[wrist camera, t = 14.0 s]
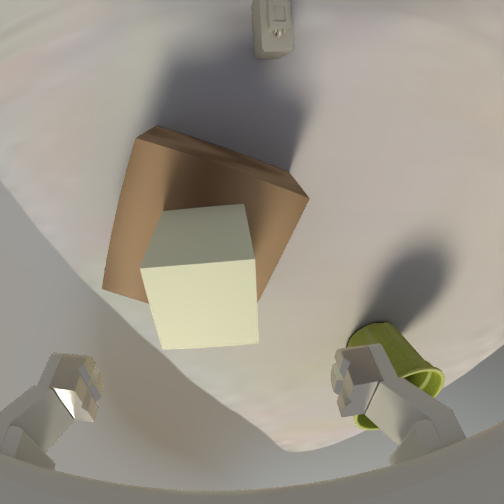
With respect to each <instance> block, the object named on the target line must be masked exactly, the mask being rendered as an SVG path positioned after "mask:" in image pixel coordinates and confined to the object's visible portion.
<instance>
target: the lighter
mask: <svg viewBox="0 0 504 504" xmlns="http://www.w3.org/2000/svg"><path fill="white" fill-rule="evenodd" d="M252 24H253V42H254V57H255V58H256V59H278V58H280V57H281V56H283V55H285V54H287V53H289V52H291V51H292V50H293V49H294V44H293V26H292V10H291V0H254V2H253V5H252Z"/></svg>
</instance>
